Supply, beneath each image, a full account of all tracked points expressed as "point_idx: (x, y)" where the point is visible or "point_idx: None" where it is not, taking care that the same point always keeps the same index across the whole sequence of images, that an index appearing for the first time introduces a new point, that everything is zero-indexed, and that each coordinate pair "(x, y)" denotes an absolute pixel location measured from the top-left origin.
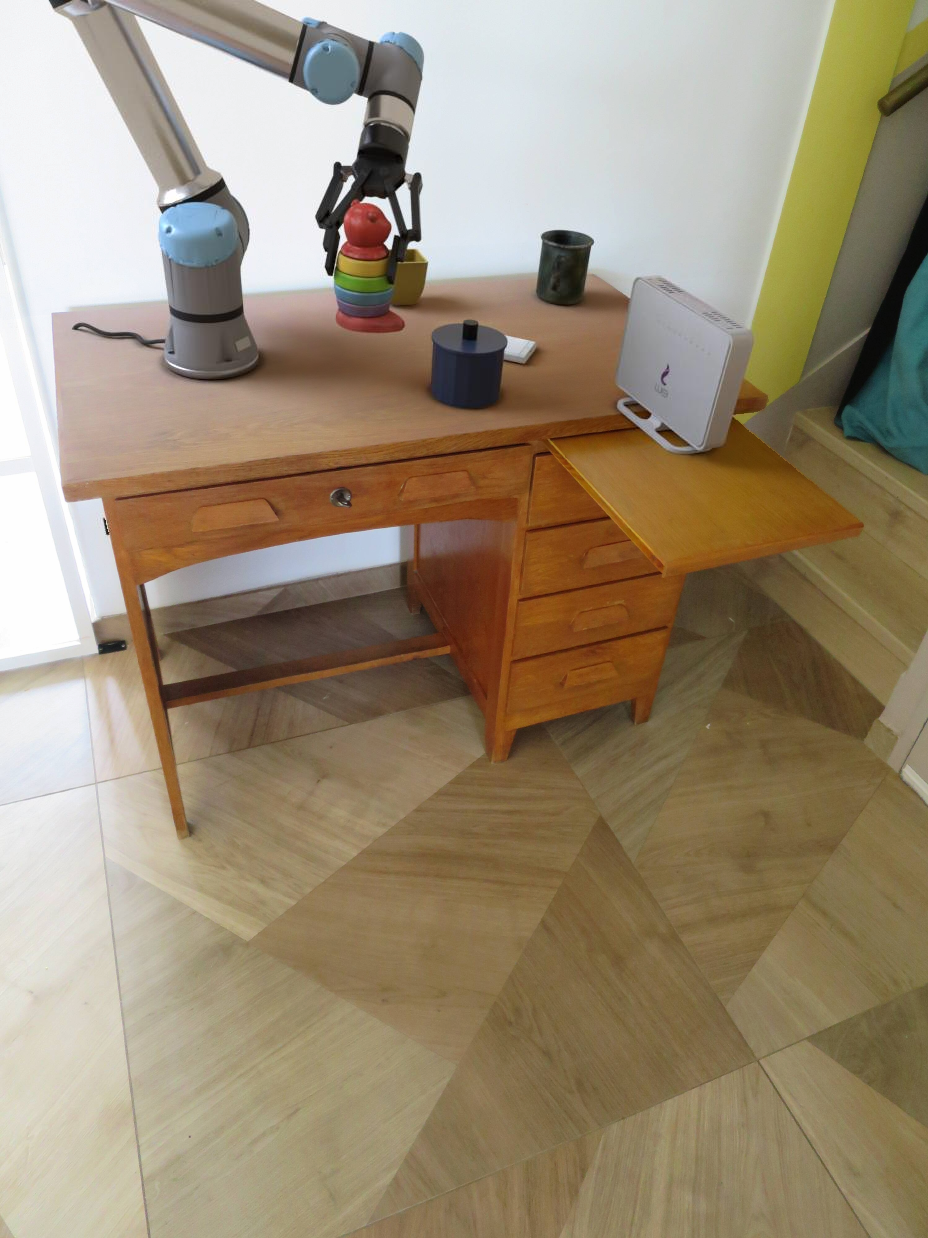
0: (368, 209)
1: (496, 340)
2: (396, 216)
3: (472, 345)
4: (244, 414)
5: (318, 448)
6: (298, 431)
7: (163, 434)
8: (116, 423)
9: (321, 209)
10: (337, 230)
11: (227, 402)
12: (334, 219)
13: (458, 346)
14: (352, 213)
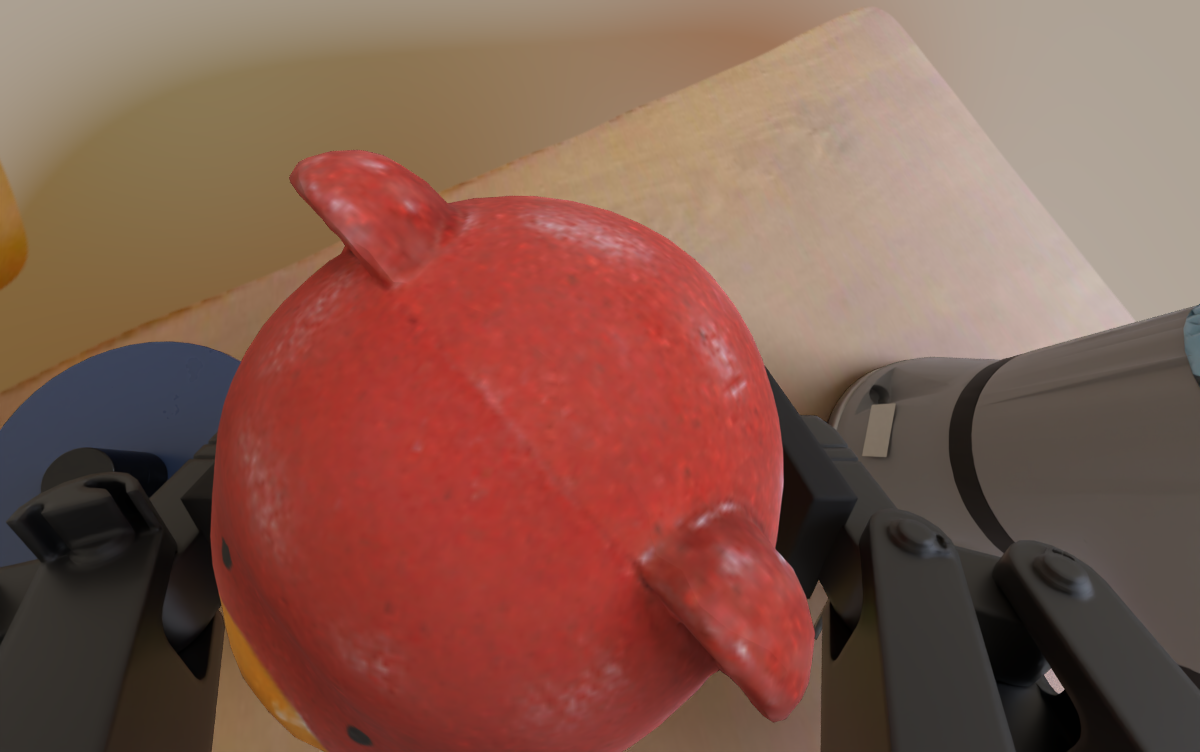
0: (426, 266)
1: (21, 487)
2: (71, 747)
3: (131, 409)
4: (747, 242)
5: (570, 152)
6: (625, 202)
7: (842, 144)
8: (931, 162)
9: (1128, 652)
10: (797, 509)
11: (799, 282)
12: (891, 568)
13: (187, 383)
14: (658, 241)
